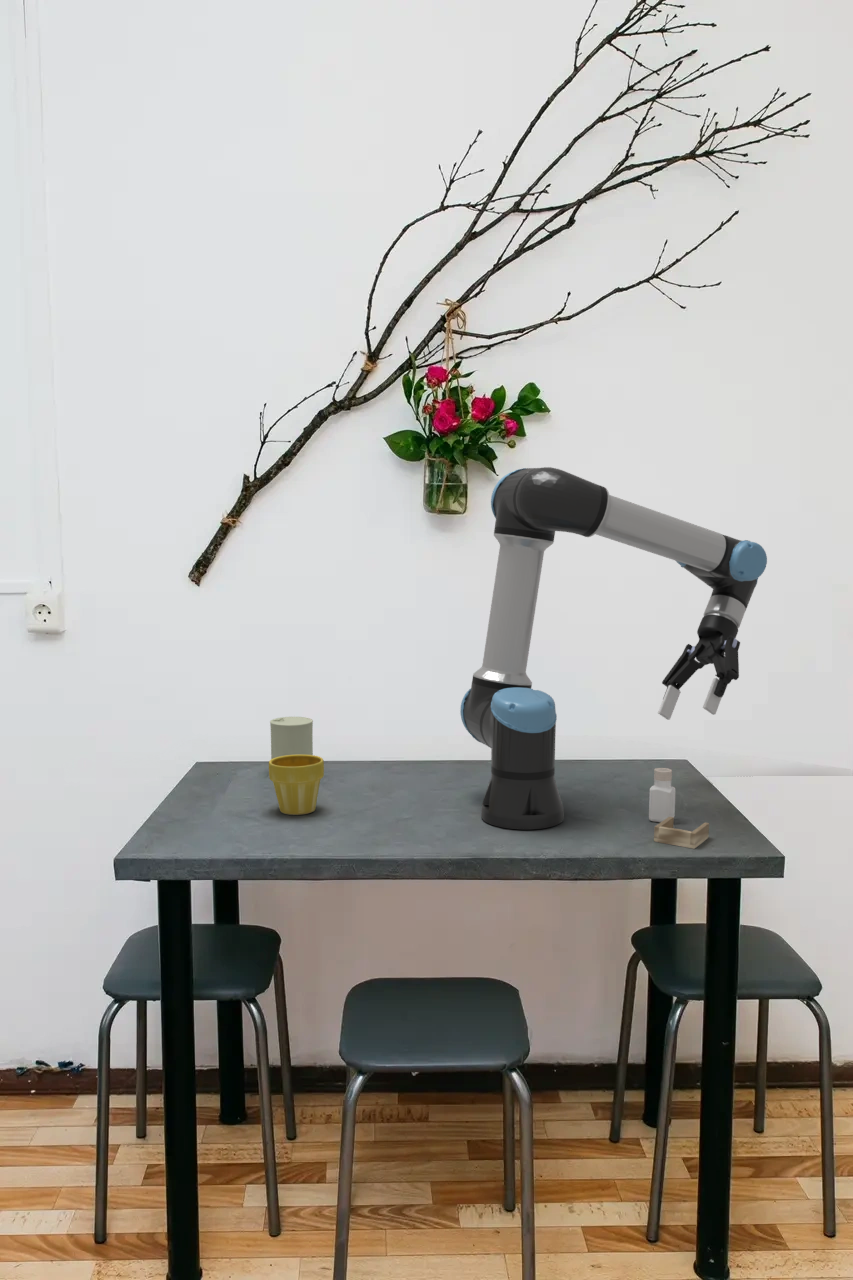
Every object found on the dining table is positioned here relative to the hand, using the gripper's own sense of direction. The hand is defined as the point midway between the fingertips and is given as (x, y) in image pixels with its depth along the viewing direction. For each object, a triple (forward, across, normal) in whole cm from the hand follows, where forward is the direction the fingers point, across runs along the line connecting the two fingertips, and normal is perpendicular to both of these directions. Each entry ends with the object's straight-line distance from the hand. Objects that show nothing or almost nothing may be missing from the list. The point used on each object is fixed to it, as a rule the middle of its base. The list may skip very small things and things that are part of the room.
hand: (685, 713), depth 209 cm
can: (+38, +55, +50) cm, 84 cm away
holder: (+28, -16, +2) cm, 32 cm away
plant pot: (+49, +29, +53) cm, 78 cm away
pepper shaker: (+23, -6, 0) cm, 24 cm away
